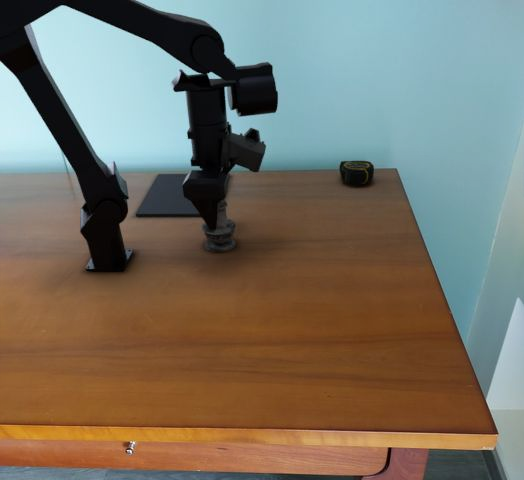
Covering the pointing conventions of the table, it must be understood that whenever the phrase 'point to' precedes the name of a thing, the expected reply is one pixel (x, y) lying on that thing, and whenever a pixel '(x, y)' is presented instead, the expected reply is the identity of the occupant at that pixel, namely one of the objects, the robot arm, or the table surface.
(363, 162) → the tape measure
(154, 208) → the mat
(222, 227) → the salt shaker
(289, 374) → the table surface
